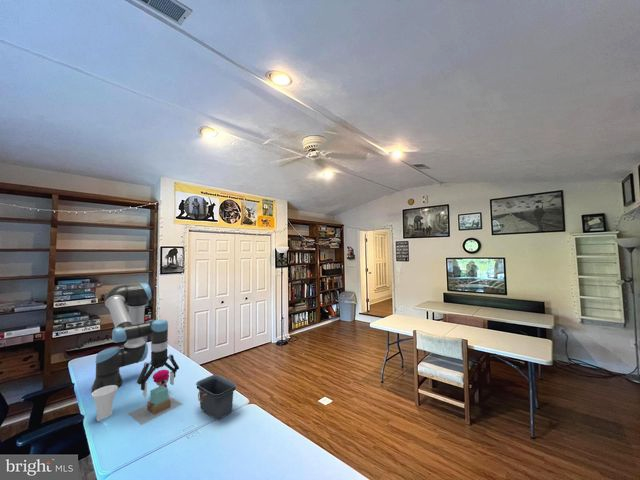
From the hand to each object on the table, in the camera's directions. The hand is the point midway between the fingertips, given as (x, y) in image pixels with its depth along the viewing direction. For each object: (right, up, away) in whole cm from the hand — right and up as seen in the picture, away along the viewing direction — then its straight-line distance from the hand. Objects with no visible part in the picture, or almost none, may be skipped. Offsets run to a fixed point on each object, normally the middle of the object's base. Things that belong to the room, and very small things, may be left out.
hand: (158, 389), depth 138 cm
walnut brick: (0, -10, -1) cm, 10 cm away
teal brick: (+1, -6, -1) cm, 6 cm away
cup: (-24, -11, -6) cm, 27 cm away
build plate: (-1, -11, -1) cm, 11 cm away
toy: (-6, -12, +12) cm, 18 cm away
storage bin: (+31, -10, -3) cm, 33 cm away
